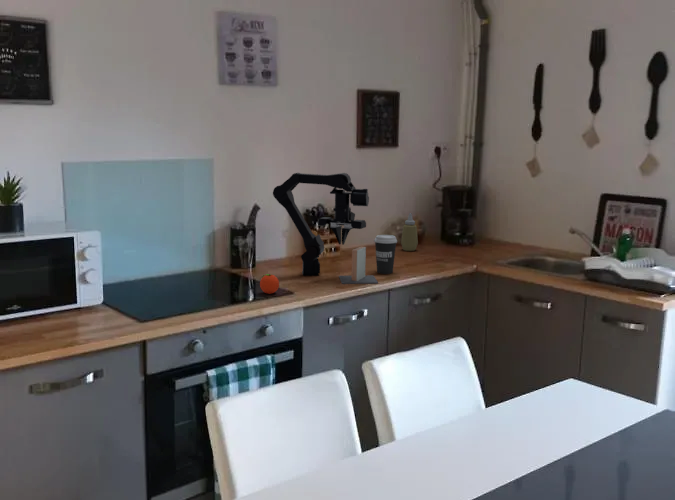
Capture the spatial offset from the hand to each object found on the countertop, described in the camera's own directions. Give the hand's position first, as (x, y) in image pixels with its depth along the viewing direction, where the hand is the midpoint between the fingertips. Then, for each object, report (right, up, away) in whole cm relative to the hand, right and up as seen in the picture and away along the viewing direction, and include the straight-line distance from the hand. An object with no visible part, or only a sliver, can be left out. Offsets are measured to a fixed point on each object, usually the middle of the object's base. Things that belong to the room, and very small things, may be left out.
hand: (341, 244), depth 279 cm
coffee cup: (+18, -12, +11) cm, 24 cm away
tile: (+7, -8, -5) cm, 11 cm away
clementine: (-26, -18, -26) cm, 41 cm away
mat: (+6, -14, -4) cm, 16 cm away
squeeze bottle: (+33, -3, +60) cm, 69 cm away
